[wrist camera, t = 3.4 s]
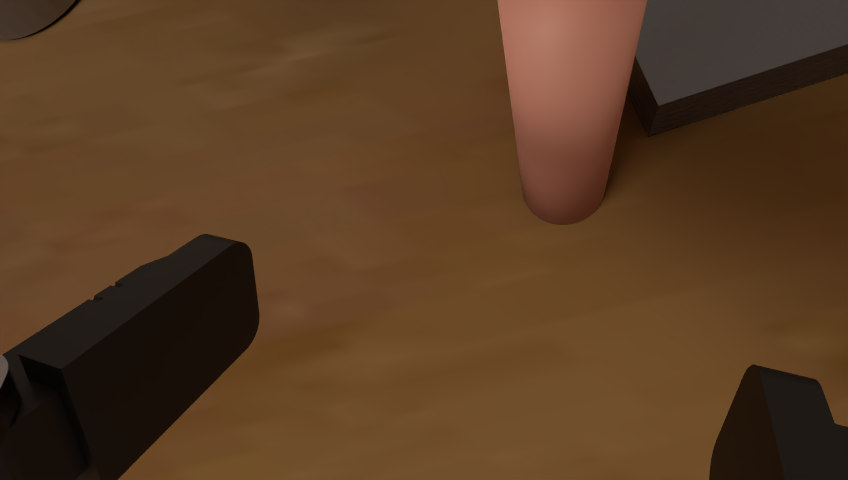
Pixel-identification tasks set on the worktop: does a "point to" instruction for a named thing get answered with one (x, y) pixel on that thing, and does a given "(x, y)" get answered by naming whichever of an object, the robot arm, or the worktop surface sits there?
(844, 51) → the socket plate
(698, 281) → the worktop surface
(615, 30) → the peg
